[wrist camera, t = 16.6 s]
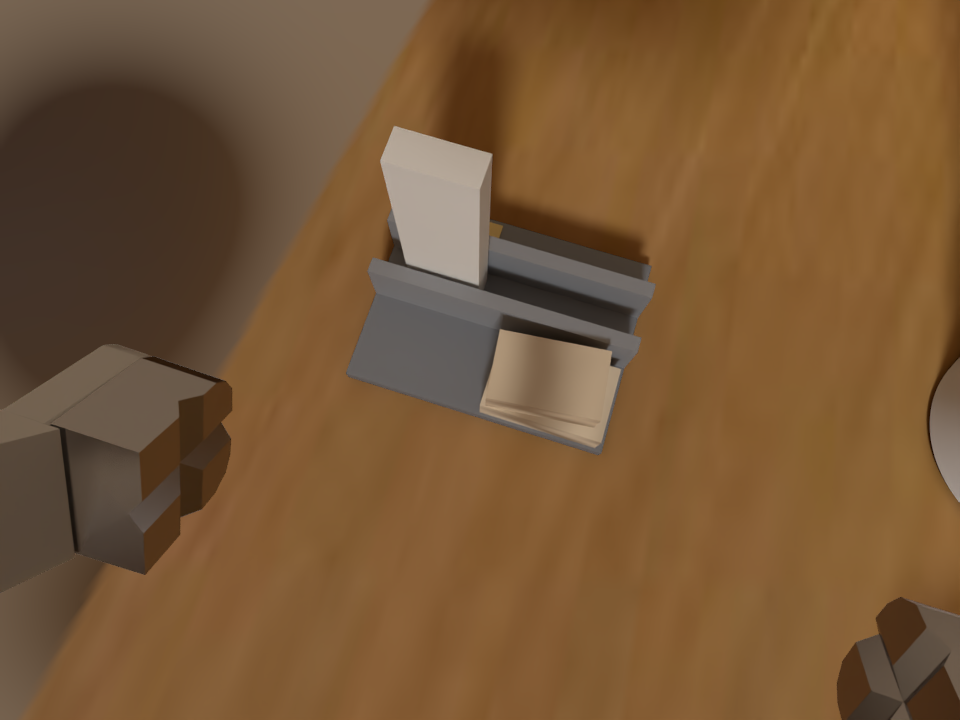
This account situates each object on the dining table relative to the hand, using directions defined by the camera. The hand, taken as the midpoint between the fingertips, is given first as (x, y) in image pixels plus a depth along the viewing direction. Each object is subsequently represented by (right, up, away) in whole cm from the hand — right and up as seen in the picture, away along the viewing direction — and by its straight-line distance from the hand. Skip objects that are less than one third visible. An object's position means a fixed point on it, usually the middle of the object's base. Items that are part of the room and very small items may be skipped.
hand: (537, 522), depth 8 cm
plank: (-3, +7, +40) cm, 40 cm away
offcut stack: (+4, 0, +38) cm, 38 cm away
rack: (+1, +5, +40) cm, 40 cm away
